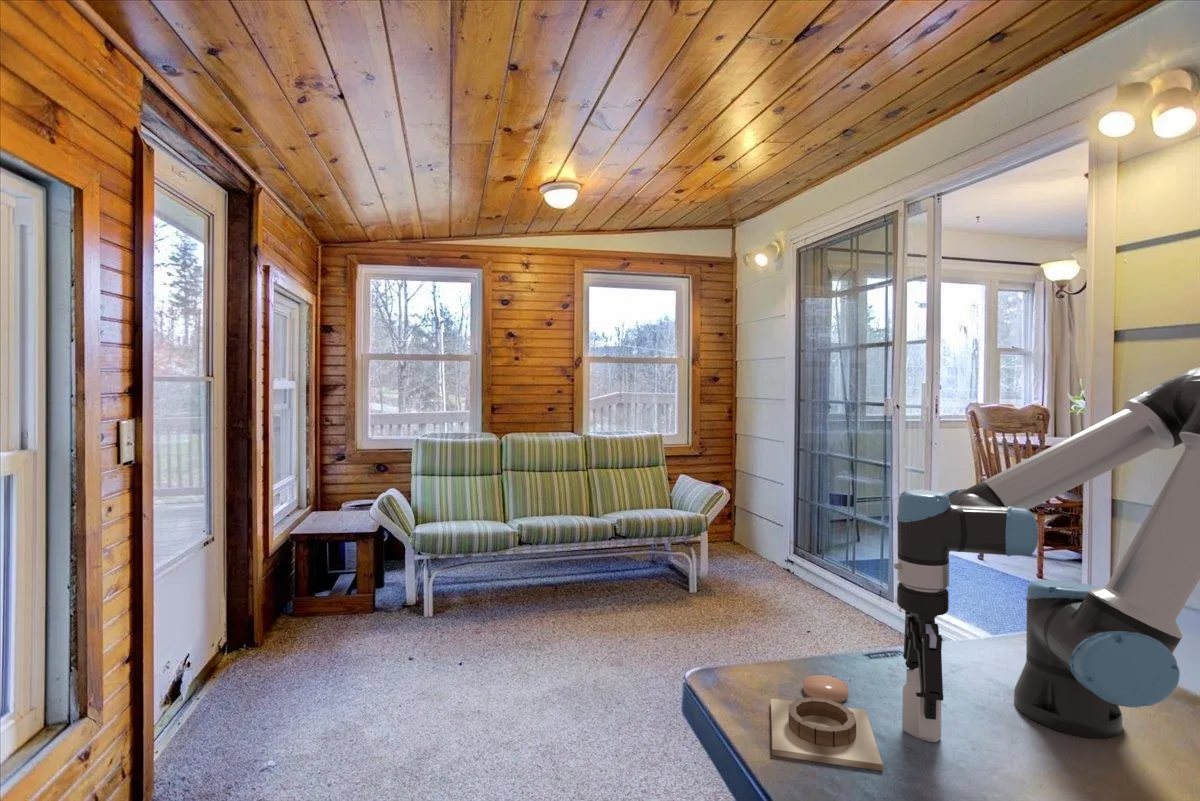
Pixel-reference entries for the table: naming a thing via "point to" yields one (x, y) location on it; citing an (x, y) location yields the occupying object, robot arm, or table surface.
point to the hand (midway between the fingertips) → (921, 721)
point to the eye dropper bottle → (915, 709)
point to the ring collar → (823, 733)
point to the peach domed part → (825, 688)
